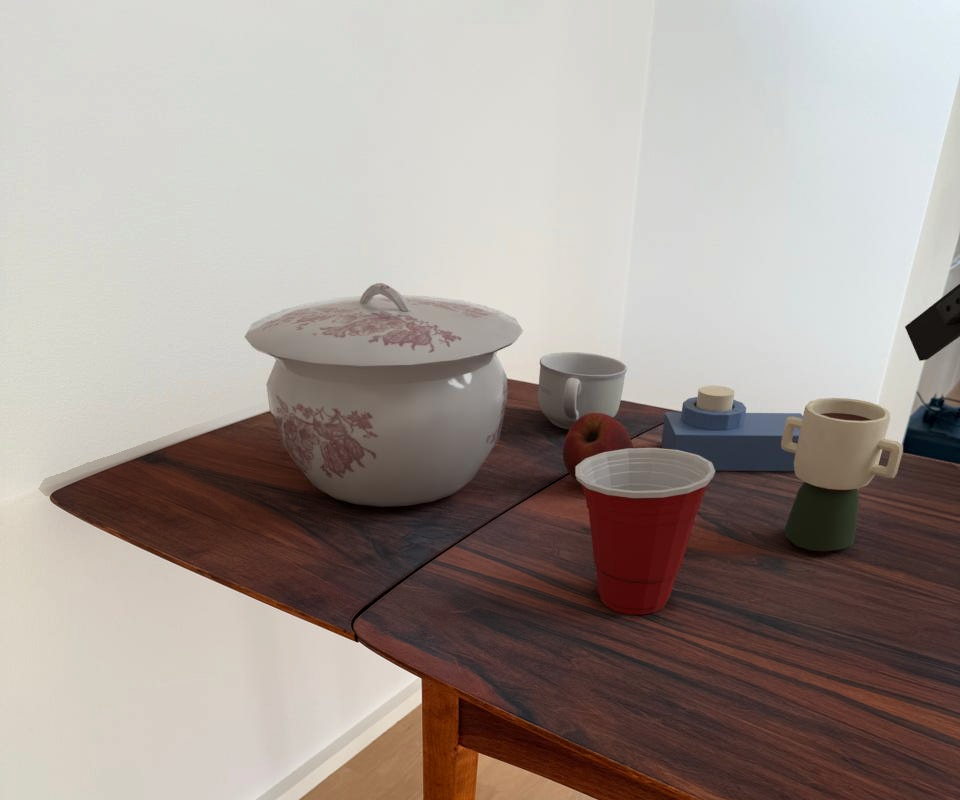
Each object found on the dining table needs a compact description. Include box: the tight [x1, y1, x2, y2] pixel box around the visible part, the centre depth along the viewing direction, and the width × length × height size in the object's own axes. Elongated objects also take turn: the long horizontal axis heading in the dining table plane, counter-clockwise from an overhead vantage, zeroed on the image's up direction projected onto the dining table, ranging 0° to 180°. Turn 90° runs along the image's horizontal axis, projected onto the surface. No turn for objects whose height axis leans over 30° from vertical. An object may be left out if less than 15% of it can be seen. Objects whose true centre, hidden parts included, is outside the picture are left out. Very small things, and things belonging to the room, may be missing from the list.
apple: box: [562, 413, 634, 484], centre depth 94 cm, size 7×8×8 cm
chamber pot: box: [244, 282, 524, 508], centre depth 91 cm, size 28×28×21 cm
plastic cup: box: [576, 447, 716, 616], centre depth 72 cm, size 11×11×12 cm
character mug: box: [781, 397, 904, 552], centre depth 80 cm, size 11×7×13 cm, turn 46°
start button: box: [696, 385, 735, 411], centre depth 100 cm, size 4×4×2 cm
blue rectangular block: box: [660, 396, 803, 472], centre depth 101 cm, size 16×8×6 cm, turn 88°
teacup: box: [537, 351, 628, 431], centre depth 110 cm, size 14×11×8 cm
